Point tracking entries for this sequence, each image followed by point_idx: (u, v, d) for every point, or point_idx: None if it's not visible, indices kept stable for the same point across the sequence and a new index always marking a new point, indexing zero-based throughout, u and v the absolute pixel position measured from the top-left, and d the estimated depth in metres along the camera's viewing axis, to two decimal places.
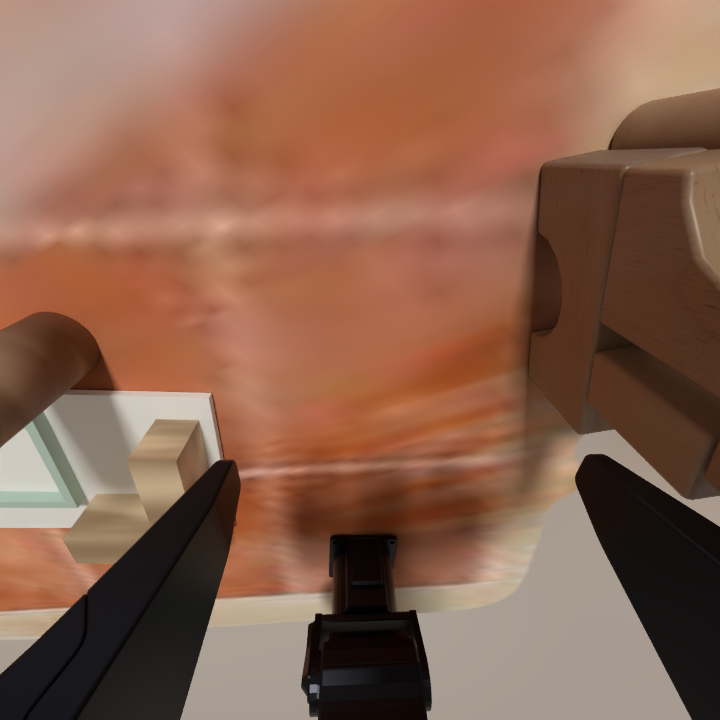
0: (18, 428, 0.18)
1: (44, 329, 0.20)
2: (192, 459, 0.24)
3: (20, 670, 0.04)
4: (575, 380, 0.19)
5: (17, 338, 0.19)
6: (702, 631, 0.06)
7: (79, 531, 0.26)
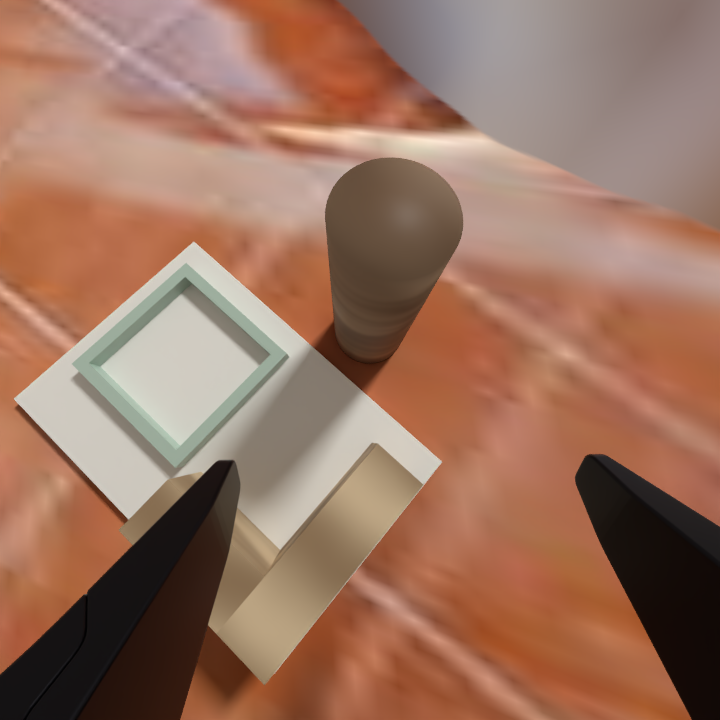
0: (392, 332, 0.17)
1: None
2: None
3: (20, 670, 0.04)
4: None
5: None
6: (702, 631, 0.06)
7: (184, 488, 0.17)
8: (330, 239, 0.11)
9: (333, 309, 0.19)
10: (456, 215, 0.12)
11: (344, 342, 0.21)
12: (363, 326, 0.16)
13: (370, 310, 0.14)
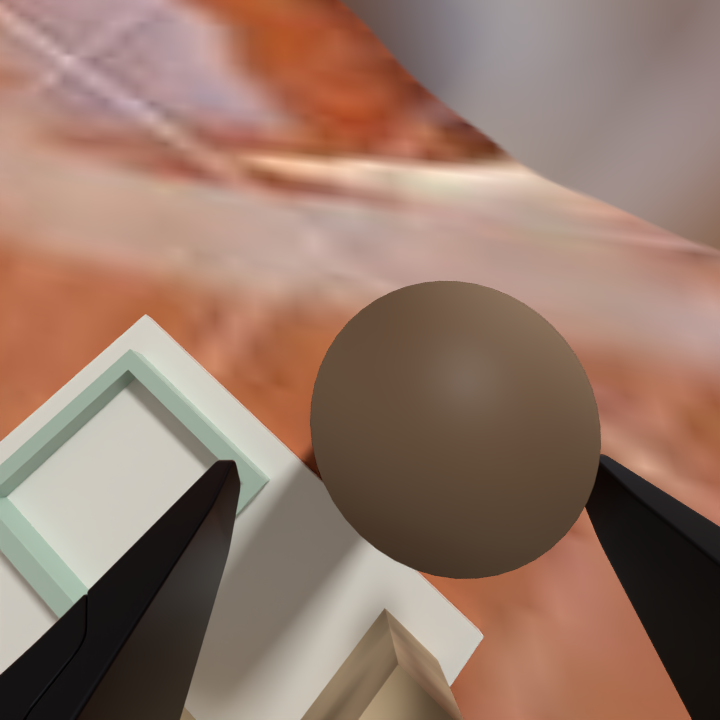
0: None
1: None
2: None
3: (20, 670, 0.04)
4: None
5: None
6: (702, 631, 0.06)
7: None
8: (321, 473, 0.05)
9: None
10: (584, 409, 0.06)
11: None
12: None
13: None
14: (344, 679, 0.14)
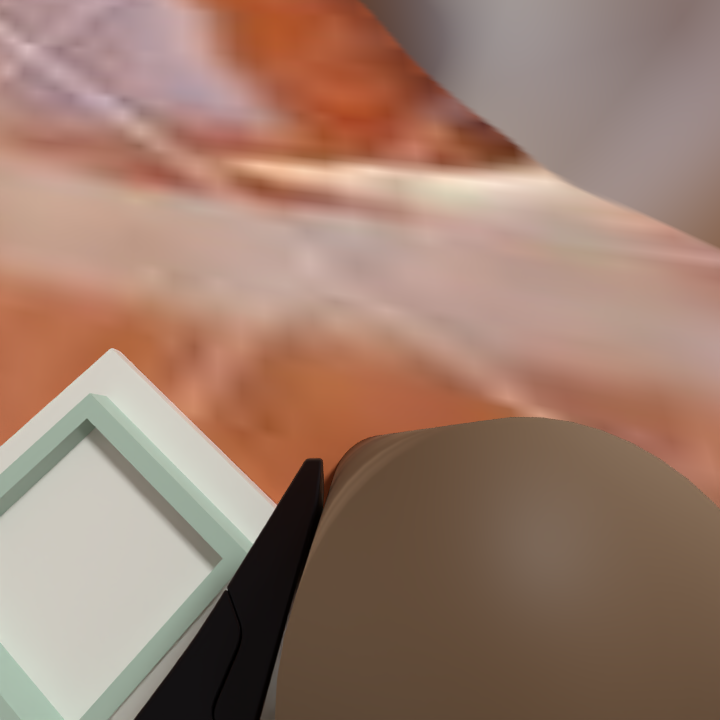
0: None
1: None
2: None
3: (192, 663, 0.04)
4: None
5: None
6: None
7: None
8: None
9: None
10: None
11: None
12: None
13: None
14: None
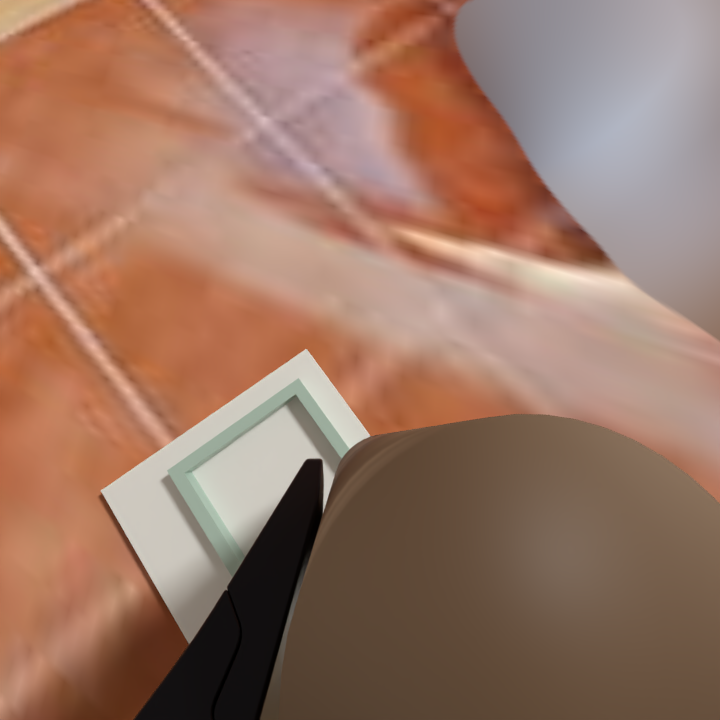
0: None
1: None
2: None
3: (192, 663, 0.04)
4: None
5: None
6: None
7: None
8: None
9: None
10: None
11: None
12: None
13: None
14: None
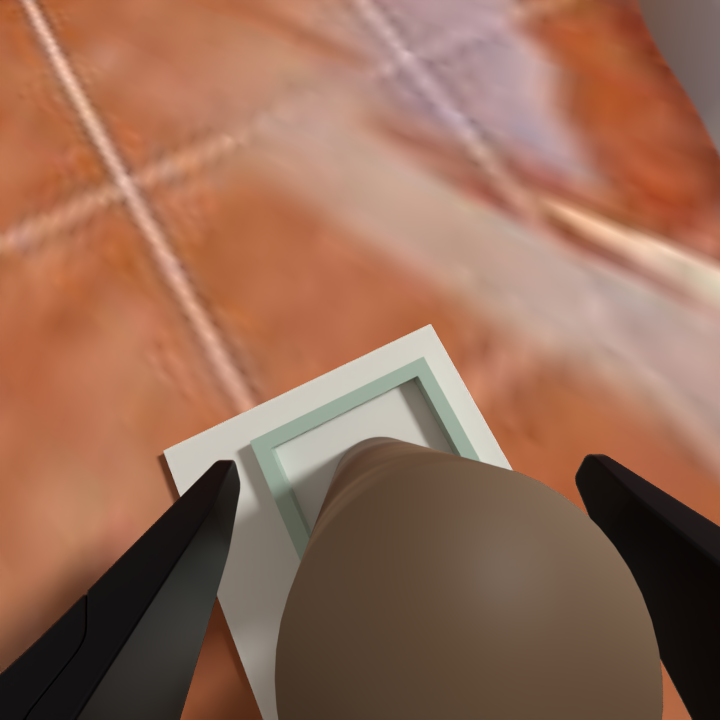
0: None
1: None
2: None
3: (20, 670, 0.04)
4: None
5: None
6: (702, 631, 0.06)
7: None
8: None
9: None
10: (641, 651, 0.04)
11: None
12: None
13: None
14: None
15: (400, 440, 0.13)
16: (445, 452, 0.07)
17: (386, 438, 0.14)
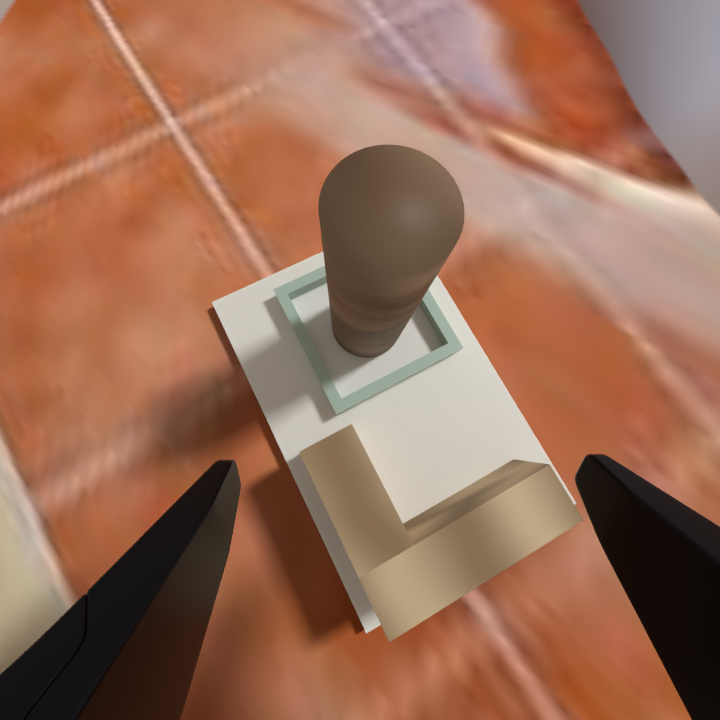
0: (391, 327, 0.16)
1: None
2: None
3: (20, 670, 0.04)
4: None
5: None
6: (702, 631, 0.06)
7: None
8: (325, 234, 0.11)
9: (329, 304, 0.18)
10: (457, 205, 0.11)
11: (342, 337, 0.20)
12: (361, 322, 0.16)
13: (368, 307, 0.13)
14: (485, 482, 0.20)
15: None
16: None
17: None
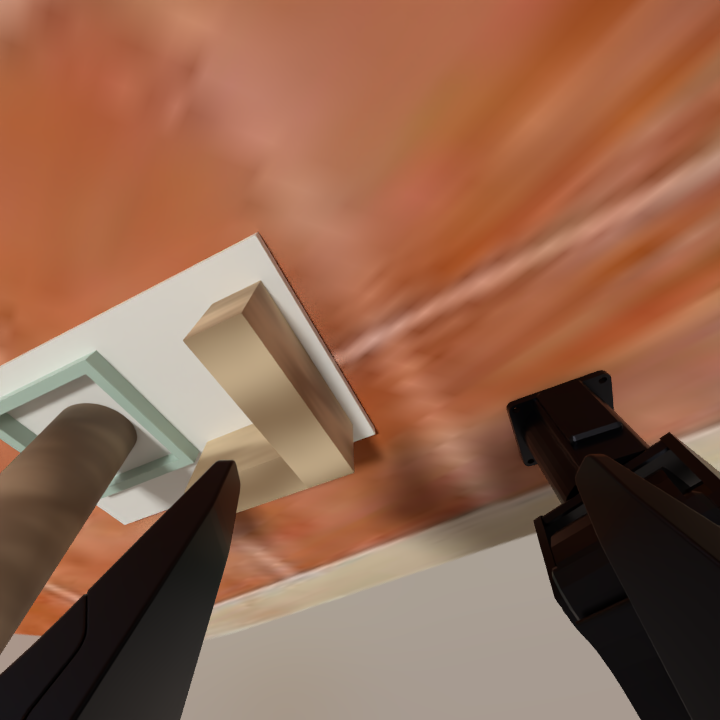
0: (63, 513, 0.17)
1: (49, 426, 0.20)
2: (273, 327, 0.17)
3: (20, 670, 0.04)
4: None
5: (26, 447, 0.19)
6: (702, 631, 0.06)
7: None
8: None
9: None
10: None
11: None
12: (66, 546, 0.17)
13: (34, 592, 0.15)
14: None
15: None
16: None
17: None
